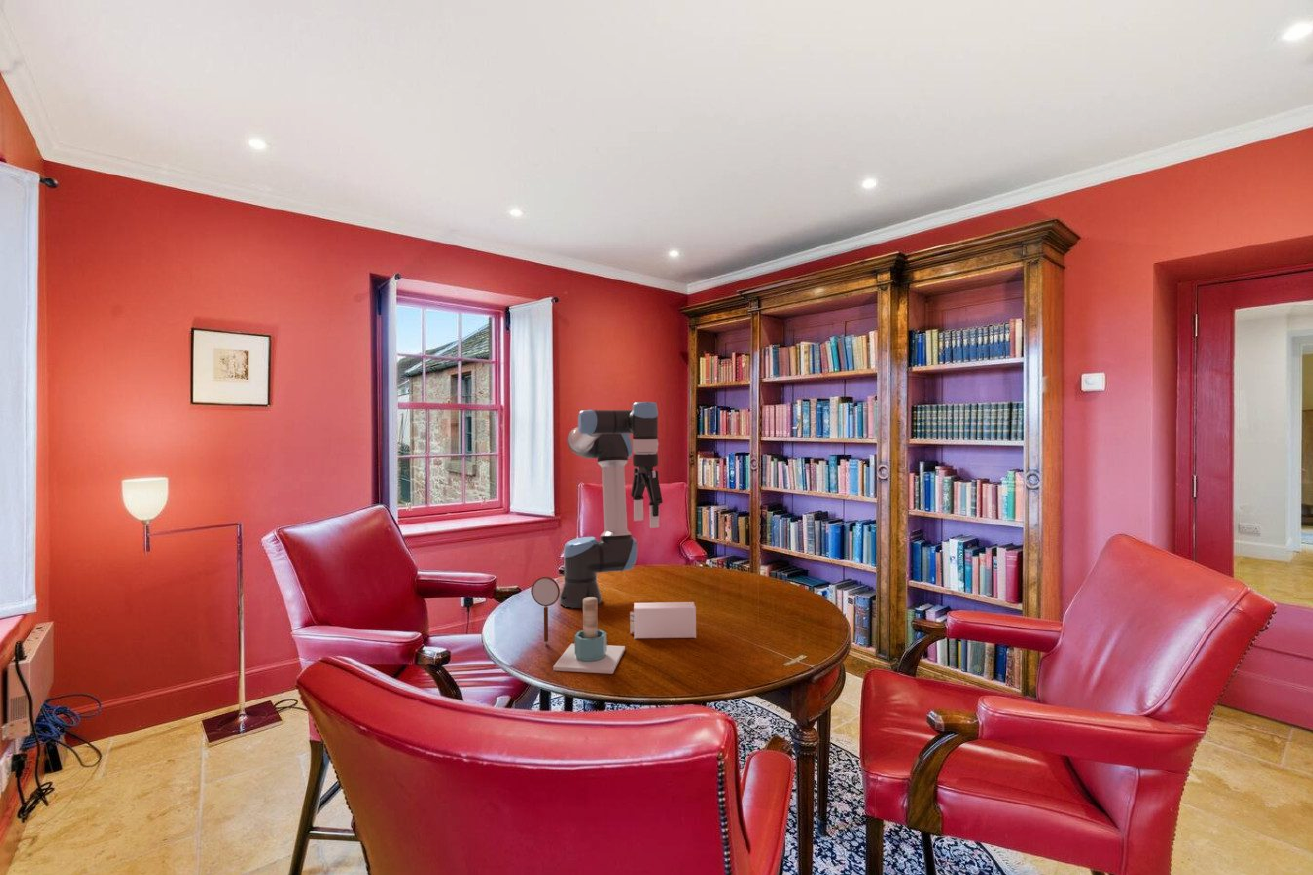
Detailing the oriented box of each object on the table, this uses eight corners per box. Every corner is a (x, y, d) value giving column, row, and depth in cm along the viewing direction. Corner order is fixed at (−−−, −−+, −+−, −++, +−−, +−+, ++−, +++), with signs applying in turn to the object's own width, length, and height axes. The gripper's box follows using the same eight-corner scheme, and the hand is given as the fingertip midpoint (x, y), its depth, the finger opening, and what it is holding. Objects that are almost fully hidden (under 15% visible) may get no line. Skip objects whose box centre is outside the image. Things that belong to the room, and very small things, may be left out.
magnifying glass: (531, 644, 163) (530, 577, 163) (533, 642, 165) (532, 575, 165) (559, 646, 162) (558, 578, 162) (561, 643, 164) (560, 576, 164)
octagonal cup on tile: (571, 646, 162) (571, 622, 161) (625, 649, 159) (624, 625, 159) (553, 670, 146) (552, 643, 146) (612, 673, 143) (612, 646, 143)
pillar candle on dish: (584, 648, 155) (583, 596, 155) (602, 648, 155) (601, 596, 154) (578, 655, 150) (578, 601, 150) (597, 656, 150) (596, 602, 149)
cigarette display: (694, 631, 173) (694, 601, 173) (696, 638, 168) (695, 607, 167) (630, 632, 173) (630, 602, 173) (630, 639, 167) (629, 608, 167)
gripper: (673, 454, 157) (674, 529, 157) (642, 451, 180) (643, 517, 180) (648, 455, 154) (649, 531, 154) (620, 452, 177) (621, 518, 177)
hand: (646, 524), depth 167 cm, fingers open, 13 cm apart
